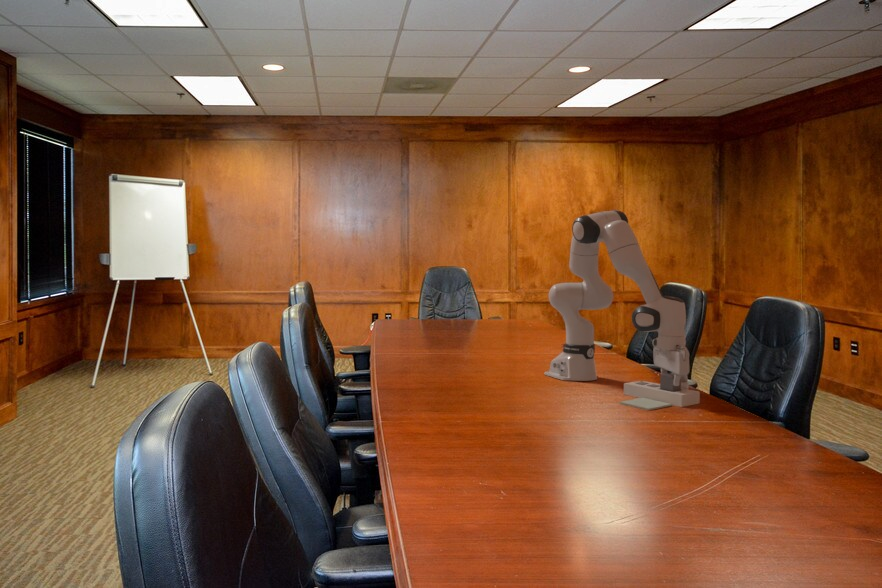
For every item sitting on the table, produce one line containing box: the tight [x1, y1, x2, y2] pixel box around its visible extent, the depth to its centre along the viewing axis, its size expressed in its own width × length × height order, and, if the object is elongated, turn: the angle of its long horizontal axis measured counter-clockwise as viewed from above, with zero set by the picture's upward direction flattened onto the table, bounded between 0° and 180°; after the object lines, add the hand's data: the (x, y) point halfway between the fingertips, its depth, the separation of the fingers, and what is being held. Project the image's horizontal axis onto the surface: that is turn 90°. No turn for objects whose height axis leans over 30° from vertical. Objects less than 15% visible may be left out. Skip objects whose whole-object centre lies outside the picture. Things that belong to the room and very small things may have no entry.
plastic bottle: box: [671, 338, 690, 390], centre depth 239 cm, size 6×7×20 cm
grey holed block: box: [623, 380, 701, 408], centre depth 232 cm, size 24×10×4 cm, turn 35°
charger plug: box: [659, 372, 681, 392], centre depth 228 cm, size 5×4×9 cm
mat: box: [619, 397, 673, 411], centre depth 222 cm, size 12×12×1 cm
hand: (670, 383), depth 228 cm, fingers closed on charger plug, 7 cm apart
